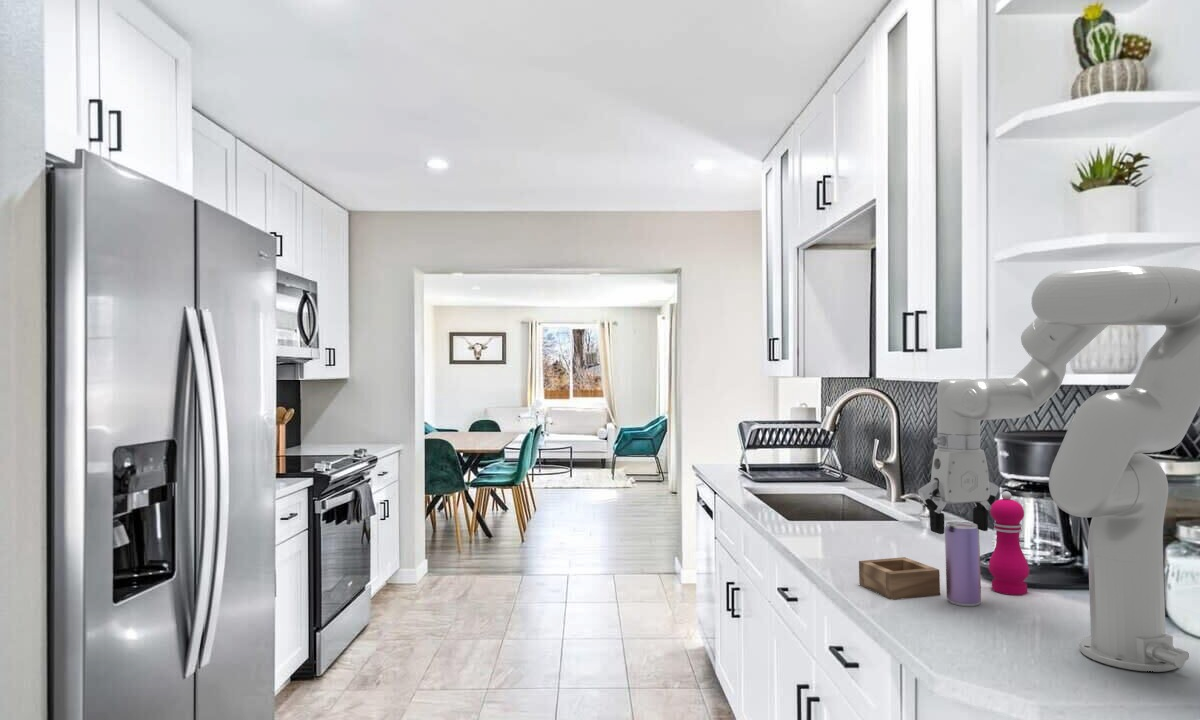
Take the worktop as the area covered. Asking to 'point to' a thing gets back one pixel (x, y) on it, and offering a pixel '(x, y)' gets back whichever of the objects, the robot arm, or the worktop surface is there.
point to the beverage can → (962, 563)
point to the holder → (899, 578)
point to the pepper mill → (1008, 548)
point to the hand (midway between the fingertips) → (959, 531)
